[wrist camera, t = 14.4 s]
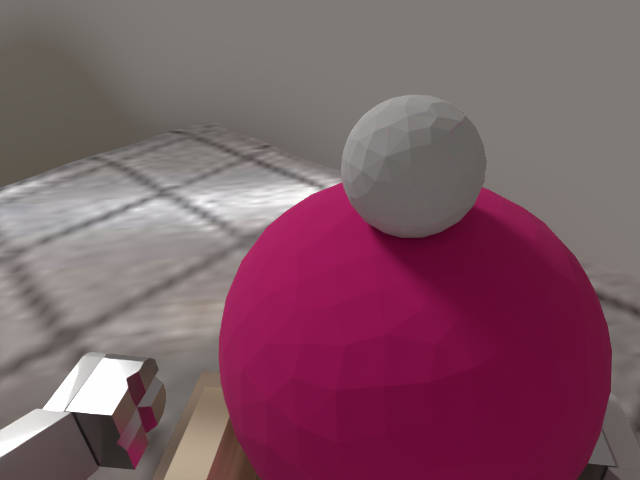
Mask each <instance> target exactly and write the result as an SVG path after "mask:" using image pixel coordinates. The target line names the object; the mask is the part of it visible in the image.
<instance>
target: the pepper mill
mask: <svg viewBox="0 0 640 480" xmlns="http://www.w3.org/2000/svg"><path fill="white" fill-rule="evenodd" d="M485 169H486V157H485V151H484V145H483V143H482V141H481V138H480V136H479V134H478V131H477V129H476V127H475V126H474V125H473V123H472V122H471V121H470V120H469V119H468V118H467V117H466V115H465V114H464V113H463V112H462V111H461V110H459V109H458V108H456V107H455V106H454V105H452V104H450V103H448V102H445V101H443V100H441V99H438V98H435V97H433V96H427V95H406V96H400V97H395V98H391V99H390V100H387V101H385V102H382V103H380V104H378V105H377V106H375V107H374V108H373V109H371V110H370V111H369V112H367V113H366V114H365V115H363V116H362V118H361V119H360V120H359V121H358V123H357V124H356V125H355V126H354V128H353V130H352V131H351V133H350V135H349V137H348V139H347V142H346V145H345V148H344V151H343V157H342V167H341V176H342V181H343V182H342V183H340V184H337V185H335V186H332V187H330V188H327V189H324V190H322V191H319V192H317V193H314V194H312V195H310V196H309V197H307V198H306V199H304V200H302V201H301V202H299V203H298V204H296V205H295V206H293V207H292V208H290V209H289V210H287V211H286V212H285V213H283V214H282V215H281V216H280V217H279V218H277V219H276V220H275V221H274V222H273V223H271V224H270V225H269V226H268V227H267V228H266V229H265V231H264V232H263V233H262V235H261V236H260V237H259V239H258V240H257V241H256V243H255V244H254V245H253V247H252V248H251V249H250V251H249V252H248V253H247V255H246V256H245V257H244V259H243V260H242V262H241V264H240V267H239V269H238V271H237V274H236V276H235V278H234V281H233V283H232V285H231V288H230V290H229V293H228V295H227V298H226V302H225V307H224V312H223V317H222V323H221V329H220V336H219V367H220V381H221V386H222V390H223V395H224V400H225V403H226V406H227V409H228V413H229V416H230V419H231V422H232V426H233V429H234V432H235V435H236V438H237V440H238V442H239V443H240V445H241V447H242V449H243V451H244V452H245V454H246V456H247V458H248V459H249V461H250V463H251V465H252V467H253V468H254V470H255V472H256V474H257V475H258V476H259V477H260V478H261V479H262V480H577V478H578V477H579V475H580V474H581V472H582V471H583V470H584V468H585V467H586V465H587V464H588V462H589V460H590V458H591V455H592V453H593V450H594V448H595V446H596V443H597V441H598V439H599V436H600V434H601V429H602V425H603V421H604V417H605V413H606V409H607V404H608V400H609V396H610V392H611V362H612V349H611V343H610V337H609V331H608V326H607V323H606V320H605V317H604V314H603V311H602V308H601V305H600V302H599V299H598V296H597V294H596V292H595V290H594V288H593V286H592V284H591V282H590V281H589V279H588V277H587V275H586V273H585V271H584V270H583V268H582V267H581V265H580V263H579V262H578V260H577V258H576V257H575V256H574V254H573V253H572V252H571V251H570V250H569V249H568V248H567V247H566V246H565V245H564V244H563V243H562V242H561V240H560V239H558V237H557V236H556V235H555V234H554V233H553V232H552V231H551V230H550V228H549V227H548V226H547V225H546V224H545V223H544V222H542V221H541V220H540V219H538V218H537V217H535V216H534V215H533V214H531V213H530V212H528V211H527V210H526V209H524V208H523V207H521V206H519V205H517V204H515V203H513V202H511V201H509V200H507V199H505V198H503V197H502V196H500V195H498V194H496V193H494V192H492V191H490V190H488V189H485V188H483V187H482V186H483V183H484V180H485Z"/></svg>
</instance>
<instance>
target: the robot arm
mask: <svg viewBox="0 0 640 480" xmlns="http://www.w3.org/2000/svg"><path fill="white" fill-rule="evenodd" d="M158 370H159V369H158V367H157V364H156V361H155V359H152V358H145V357H136V356H127V355H117V354H106V353H96V352H89V353H88V354H86V355H84V356H83V357H82V358H81V360H80V361H79V362H78V363H77V365H76V366H75V367H74V369H73V370H72V371H71V373H70V374H69V375H68V377H67V378H66V379H65V380H64V382H63V383H62V384H61V386H60V387H59V388H58V390H57V391H56V392H55V394H54V395H53V396H52V397H51V399H50V400H49V401H48V403H47V404H46V405H45V407H44V408H43V409H35V410H33V411H32V412H30V413H28V414H27V415H25V416H23V417H22V418H20V419H18V420H17V421H15V422H13V423H12V424H10V425H8V426H7V427H5V428H3V429H2V430H0V480H86V479H87V478H89V477H90V476H91V475H92V474H93V473H94V472H95V471H97V470H98V466H100V467H111V468H123V469H134V470H135V468H136V466H137V464H138V462H139V460H140V458H141V457H142V455H143V453H144V451H145V449H146V447H147V445H148V443H149V442H148V437H147V432H149V431H150V430H151V429H153V428H154V427H155V426H157V425H158V423H159V421H160V419H161V417H162V414H163V411H164V406H165V402H166V393H165V388H164V385H163V383H162V382H161V381H160V380H159V379H158V378H157V377H155V375H156V373H157V372H158ZM577 480H640V447H639V445H638V443H637V441H636V439H635V436H634V434H633V432H632V430H631V428H630V425H629V423H628V421H627V419H626V417H625V414H624V412H623V410H622V408H621V405H620V403H619V401H618V399H617V398H616V397H615V396H614V395H613V394H610V396H609V400H608V404H607V409H606V413H605V417H604V421H603V425H602V429H601V434H600V436H599V439H598V441H597V443H596V446H595V448H594V450H593V453H592V455H591V458H590V460H589V462H588V464H587V465H586V467H585V468H584V470H583V471H582V472H581V474H580V475H579V477H578V478H577Z"/></svg>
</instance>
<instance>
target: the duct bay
mask: <svg viewBox="0 0 640 480" xmlns="http://www.w3.org/2000/svg"><path fill="white" fill-rule="evenodd" d="M152 480H262V479H261V478H260V477H259V476H258V475H257V474H256V472H255V470H254V468H253V467H252V465H251V463H250V461H249V459H248V458H247V456H246V454H245V452H244V451H243V449H242V447H241V445H240V443H239V442H238V440H237V438H236V435H235V432H234V429H233V426H232V422H231V419H230V416H229V413H228V409H227V406H226V403H225V400H224V395H223V390H222V386H221V381H220V372H209V371H202V373H201V375H200V377H199V379H198V381H197V383H196V386H195V388H194V390H193V392H192V394H191V396H190V398H189V401H188V403H187V405H186V407H185V409H184V411H183V414H182V416H181V418H180V420H179V422H178V424H177V426H176V429H175V431H174V433H173V435H172V437H171V439H170V441H169V444H168V446H167V448H166V450H165V452H164V454H163V457H162V459H161V461H160V463H159V465H158V467H157V469H156V472H155V474H154V476H153V478H152Z"/></svg>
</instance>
